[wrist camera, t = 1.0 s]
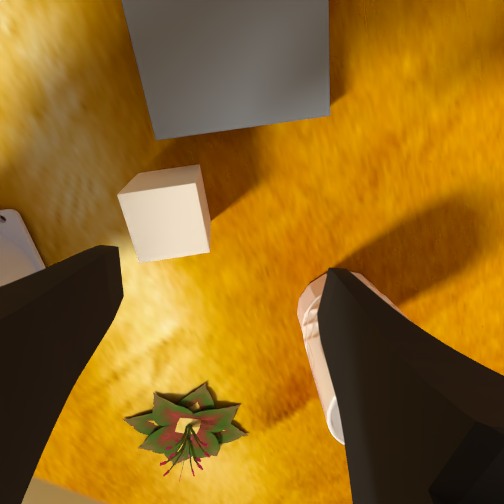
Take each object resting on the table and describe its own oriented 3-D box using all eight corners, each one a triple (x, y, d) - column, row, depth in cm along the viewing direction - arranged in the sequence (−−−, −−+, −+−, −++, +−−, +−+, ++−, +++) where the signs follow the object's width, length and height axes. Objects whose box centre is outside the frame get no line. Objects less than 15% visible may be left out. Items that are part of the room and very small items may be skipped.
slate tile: (161, 136, 20) (155, 140, 18) (108, -84, 15) (94, -108, 13) (319, 113, 20) (329, 115, 18) (314, -108, 16) (327, -134, 14)
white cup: (323, 247, 24) (386, 336, 15) (399, 284, 27) (492, 379, 18) (272, 323, 27) (300, 435, 18) (345, 350, 29) (402, 462, 20)
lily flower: (266, 431, 34) (273, 477, 30) (170, 471, 35) (164, 520, 31) (211, 360, 29) (211, 404, 25) (100, 410, 30) (82, 459, 26)
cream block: (154, 229, 22) (139, 263, 18) (138, 172, 21) (117, 194, 16) (210, 221, 23) (209, 252, 18) (199, 163, 21) (195, 183, 16)
